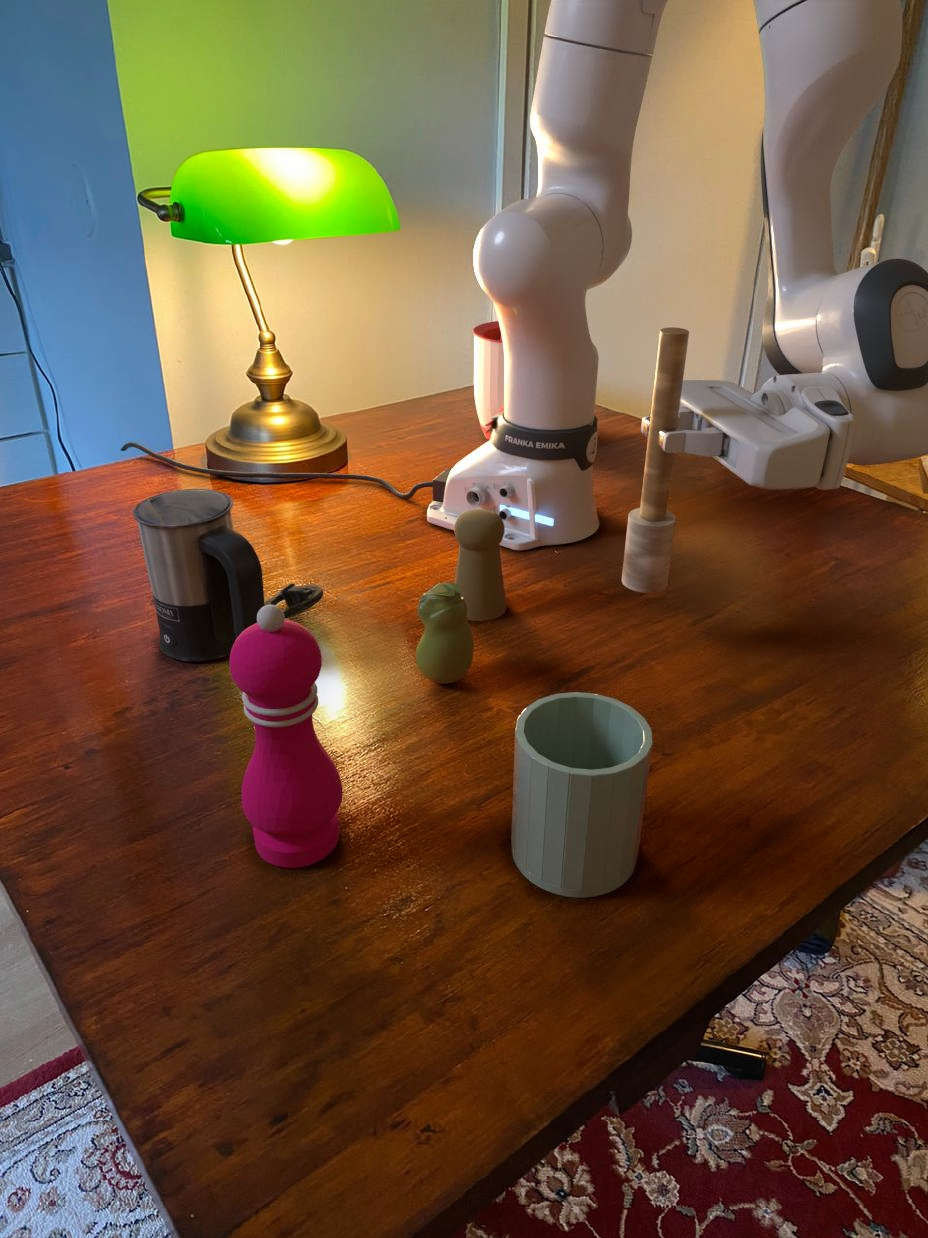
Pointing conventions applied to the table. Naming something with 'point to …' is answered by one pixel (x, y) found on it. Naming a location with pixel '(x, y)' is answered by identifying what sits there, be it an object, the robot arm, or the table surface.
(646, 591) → the bottle brush
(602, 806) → the faceted pen cup
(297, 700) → the pepper mill
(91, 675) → the table surface
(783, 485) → the robot arm
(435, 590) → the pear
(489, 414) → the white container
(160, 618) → the milk frother
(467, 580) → the brown peg figure
